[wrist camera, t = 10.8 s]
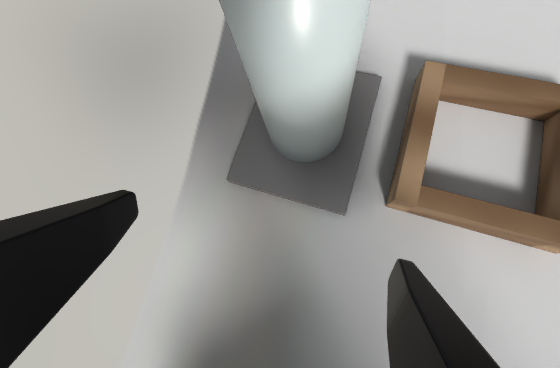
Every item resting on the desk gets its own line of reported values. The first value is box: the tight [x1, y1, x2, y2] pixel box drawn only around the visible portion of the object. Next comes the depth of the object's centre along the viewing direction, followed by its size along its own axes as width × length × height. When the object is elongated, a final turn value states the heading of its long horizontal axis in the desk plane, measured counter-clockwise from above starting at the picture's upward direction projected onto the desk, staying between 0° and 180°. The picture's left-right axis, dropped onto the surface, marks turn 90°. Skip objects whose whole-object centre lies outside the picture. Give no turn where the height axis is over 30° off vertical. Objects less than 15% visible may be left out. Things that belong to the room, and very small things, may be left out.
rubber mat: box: [227, 72, 382, 215], centre depth 19 cm, size 10×8×1 cm
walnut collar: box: [386, 61, 560, 253], centre depth 17 cm, size 9×9×2 cm
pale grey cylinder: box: [219, 0, 371, 163], centre depth 13 cm, size 5×5×13 cm
